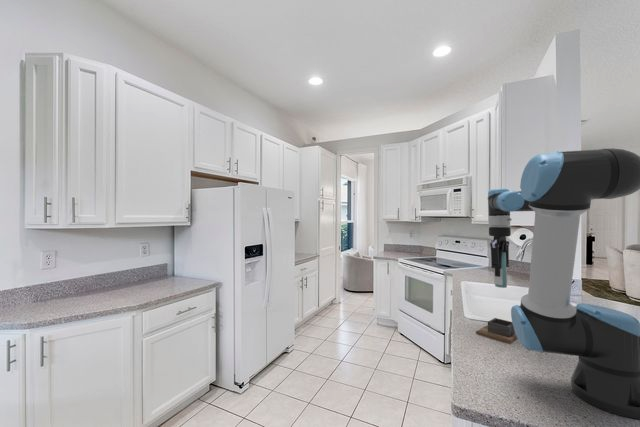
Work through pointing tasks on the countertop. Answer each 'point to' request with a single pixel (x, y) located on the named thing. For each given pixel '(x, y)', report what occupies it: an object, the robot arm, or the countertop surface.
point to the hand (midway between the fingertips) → (500, 283)
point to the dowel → (503, 271)
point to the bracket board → (499, 331)
